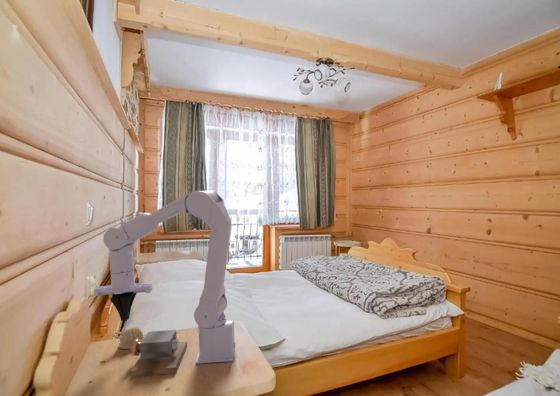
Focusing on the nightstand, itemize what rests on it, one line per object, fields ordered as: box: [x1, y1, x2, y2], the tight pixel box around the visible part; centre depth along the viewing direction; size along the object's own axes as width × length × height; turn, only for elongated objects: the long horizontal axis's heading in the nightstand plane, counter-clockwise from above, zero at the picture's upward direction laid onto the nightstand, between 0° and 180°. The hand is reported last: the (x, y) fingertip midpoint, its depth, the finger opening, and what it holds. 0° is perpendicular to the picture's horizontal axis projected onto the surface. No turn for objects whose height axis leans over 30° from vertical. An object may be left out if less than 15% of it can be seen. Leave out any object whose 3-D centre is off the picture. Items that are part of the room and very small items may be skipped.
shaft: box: [130, 338, 180, 357], centre depth 78 cm, size 11×4×4 cm, turn 94°
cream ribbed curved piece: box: [111, 326, 145, 350], centre depth 86 cm, size 4×8×5 cm, turn 126°
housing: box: [130, 329, 188, 378], centre depth 78 cm, size 10×12×6 cm
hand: (125, 319), depth 82 cm, fingers closed
